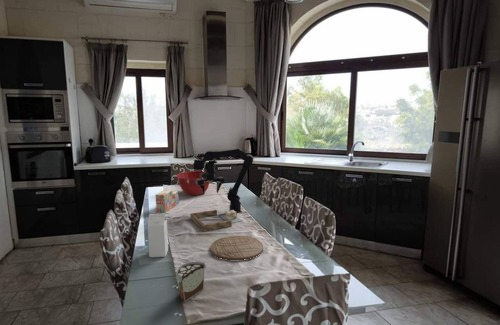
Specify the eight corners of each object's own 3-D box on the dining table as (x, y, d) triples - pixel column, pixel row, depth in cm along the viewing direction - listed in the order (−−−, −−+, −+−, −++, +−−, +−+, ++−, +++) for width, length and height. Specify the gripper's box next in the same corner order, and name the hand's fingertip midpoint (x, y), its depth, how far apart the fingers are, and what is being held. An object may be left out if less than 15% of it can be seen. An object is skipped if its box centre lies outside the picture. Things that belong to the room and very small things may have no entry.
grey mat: (232, 213, 199) (232, 213, 199) (243, 220, 186) (243, 220, 186) (219, 216, 195) (219, 215, 195) (229, 223, 182) (229, 222, 182)
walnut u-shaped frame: (216, 214, 199) (216, 209, 198) (231, 226, 178) (231, 221, 177) (190, 218, 191) (190, 213, 191) (203, 231, 170) (203, 226, 170)
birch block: (233, 216, 194) (233, 210, 193) (236, 218, 189) (236, 212, 189) (225, 217, 192) (225, 211, 191) (228, 219, 187) (228, 213, 187)
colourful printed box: (170, 203, 224) (169, 186, 222) (178, 203, 222) (178, 187, 220) (156, 212, 203) (155, 194, 201) (165, 213, 202) (164, 194, 200)
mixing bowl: (210, 197, 237) (209, 178, 235) (172, 197, 238) (172, 178, 235) (214, 188, 265) (214, 171, 263) (181, 188, 266) (180, 171, 263)
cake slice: (194, 282, 119) (193, 257, 117) (206, 287, 115) (205, 262, 114) (169, 298, 109) (167, 271, 107) (181, 304, 105) (180, 276, 104)
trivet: (270, 257, 140) (270, 253, 139) (215, 265, 133) (215, 261, 132) (254, 236, 163) (254, 233, 163) (206, 242, 156) (206, 238, 156)
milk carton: (152, 250, 146) (150, 211, 143) (168, 250, 147) (166, 211, 144) (149, 257, 139) (147, 217, 136) (165, 257, 140) (163, 216, 137)
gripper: (218, 167, 212) (219, 189, 214) (192, 169, 203) (193, 192, 206) (225, 169, 202) (225, 193, 204) (197, 172, 193) (198, 196, 196)
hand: (210, 193), depth 203 cm, fingers open, 9 cm apart
